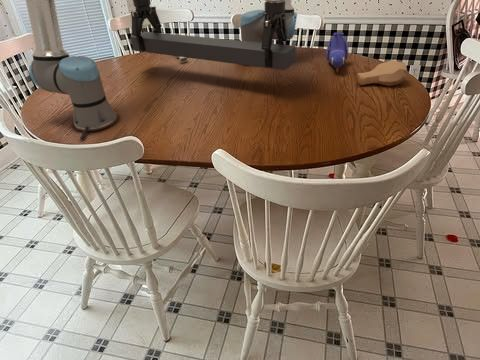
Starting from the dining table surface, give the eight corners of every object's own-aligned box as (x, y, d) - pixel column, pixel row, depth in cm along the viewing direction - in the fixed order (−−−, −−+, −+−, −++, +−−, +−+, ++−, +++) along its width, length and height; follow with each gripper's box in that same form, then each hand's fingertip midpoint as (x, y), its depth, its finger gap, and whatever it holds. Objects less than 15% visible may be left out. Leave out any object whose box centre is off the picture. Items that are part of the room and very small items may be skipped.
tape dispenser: (183, 66, 184) (206, 53, 197) (182, 56, 181) (205, 43, 193) (158, 60, 192) (181, 48, 204) (156, 51, 188) (180, 38, 201)
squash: (410, 86, 145) (414, 66, 139) (360, 95, 147) (362, 76, 141) (400, 73, 153) (404, 53, 146) (353, 81, 155) (354, 62, 148)
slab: (133, 50, 170) (130, 36, 166) (147, 45, 177) (145, 31, 173) (284, 70, 135) (285, 53, 131) (295, 62, 142) (295, 45, 138)
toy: (325, 68, 179) (325, 75, 157) (327, 32, 172) (327, 34, 150) (346, 67, 177) (349, 74, 155) (348, 31, 170) (351, 33, 148)
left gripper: (128, 0, 148) (139, 54, 160) (164, -8, 163) (171, 42, 176) (115, 0, 151) (127, 53, 164) (151, -9, 167) (160, 40, 179)
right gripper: (270, 7, 119) (270, 73, 132) (297, -5, 134) (294, 55, 147) (250, 6, 122) (252, 70, 135) (279, -6, 137) (278, 53, 151)
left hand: (150, 47), depth 170 cm, fingers closed on slab, 10 cm apart
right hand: (274, 62), depth 141 cm, fingers closed on slab, 10 cm apart
